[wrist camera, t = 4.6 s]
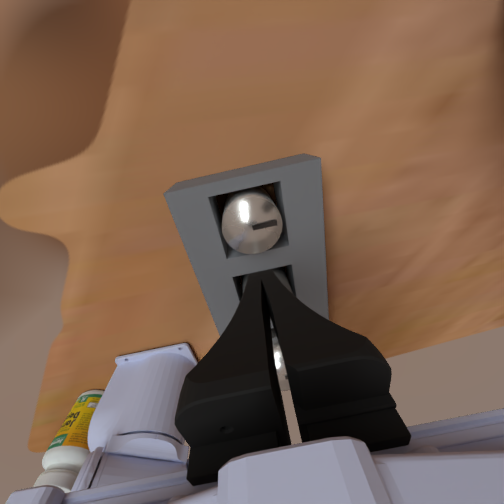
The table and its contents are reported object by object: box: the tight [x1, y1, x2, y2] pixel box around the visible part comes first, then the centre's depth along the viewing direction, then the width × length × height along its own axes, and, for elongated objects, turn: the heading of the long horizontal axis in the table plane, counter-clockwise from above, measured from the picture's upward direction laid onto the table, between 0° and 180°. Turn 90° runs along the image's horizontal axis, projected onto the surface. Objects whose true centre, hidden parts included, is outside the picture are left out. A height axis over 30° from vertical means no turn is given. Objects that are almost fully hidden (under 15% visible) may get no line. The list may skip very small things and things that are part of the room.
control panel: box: [164, 154, 329, 336], centre depth 22 cm, size 11×21×4 cm, turn 12°
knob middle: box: [242, 266, 293, 320], centre depth 21 cm, size 4×4×4 cm
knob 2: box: [271, 328, 290, 391], centre depth 22 cm, size 4×4×4 cm
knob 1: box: [222, 186, 283, 254], centre depth 18 cm, size 4×4×4 cm
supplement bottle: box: [33, 390, 104, 493], centre depth 28 cm, size 5×5×10 cm
